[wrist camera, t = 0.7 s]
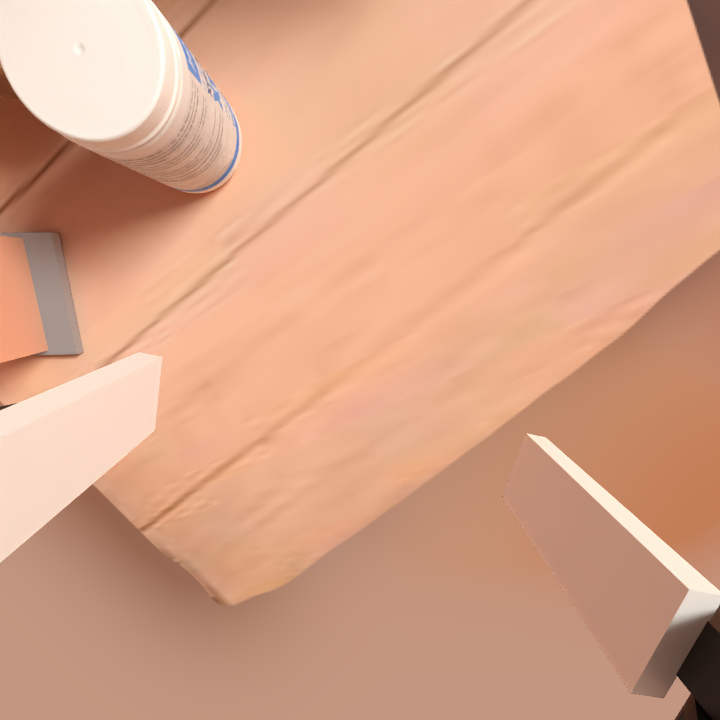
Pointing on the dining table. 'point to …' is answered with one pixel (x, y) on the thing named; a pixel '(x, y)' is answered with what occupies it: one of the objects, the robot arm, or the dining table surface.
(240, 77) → the dining table surface
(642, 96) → the dining table surface
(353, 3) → the dining table surface
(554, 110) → the dining table surface
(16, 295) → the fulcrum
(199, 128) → the supplement tub
